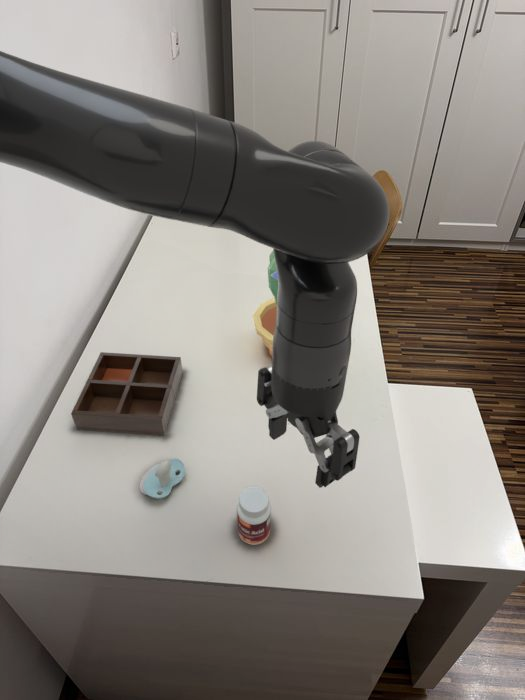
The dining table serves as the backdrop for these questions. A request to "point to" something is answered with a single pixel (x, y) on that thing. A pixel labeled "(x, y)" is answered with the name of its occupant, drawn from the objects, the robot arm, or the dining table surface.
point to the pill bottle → (254, 515)
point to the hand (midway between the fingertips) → (300, 457)
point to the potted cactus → (268, 309)
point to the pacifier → (162, 478)
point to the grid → (129, 394)
